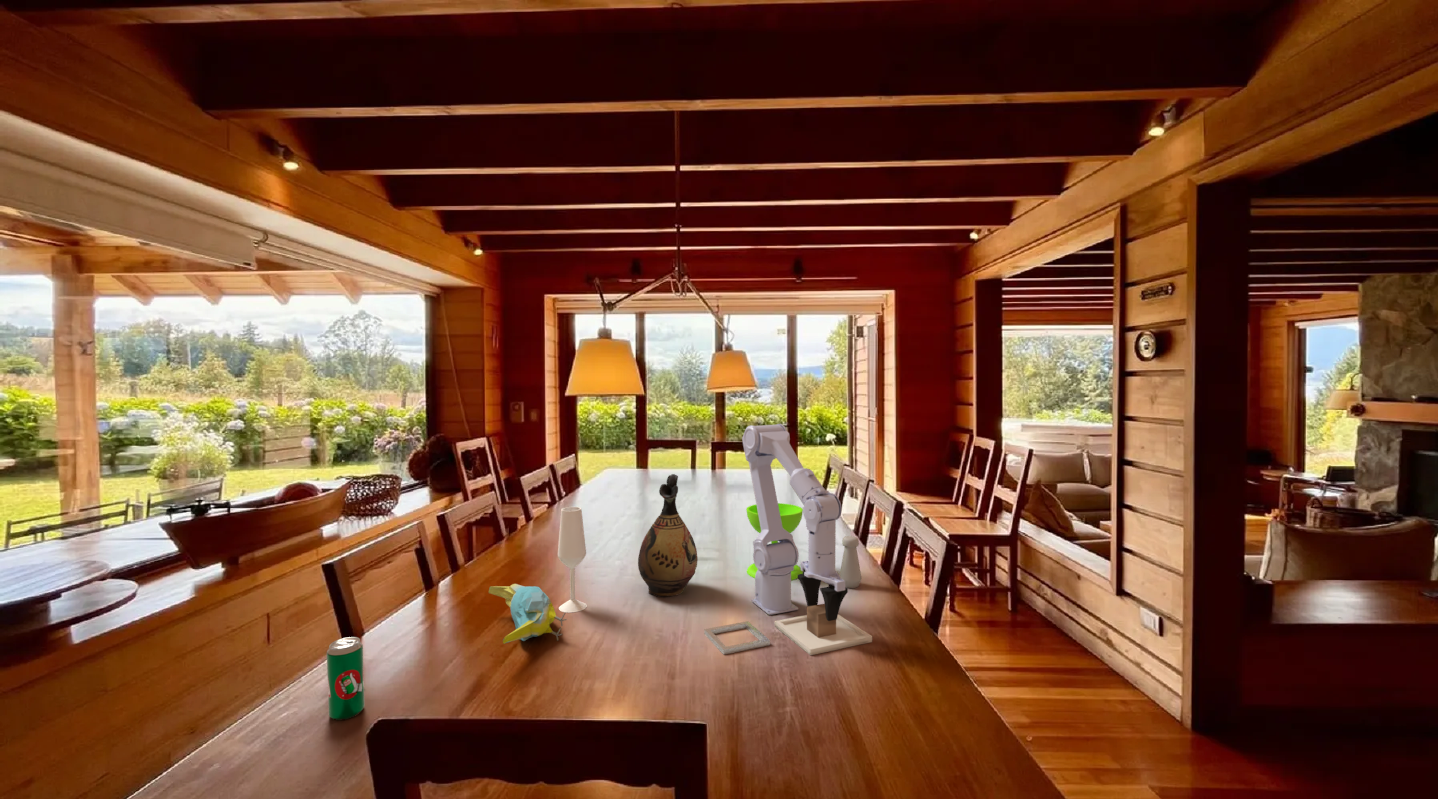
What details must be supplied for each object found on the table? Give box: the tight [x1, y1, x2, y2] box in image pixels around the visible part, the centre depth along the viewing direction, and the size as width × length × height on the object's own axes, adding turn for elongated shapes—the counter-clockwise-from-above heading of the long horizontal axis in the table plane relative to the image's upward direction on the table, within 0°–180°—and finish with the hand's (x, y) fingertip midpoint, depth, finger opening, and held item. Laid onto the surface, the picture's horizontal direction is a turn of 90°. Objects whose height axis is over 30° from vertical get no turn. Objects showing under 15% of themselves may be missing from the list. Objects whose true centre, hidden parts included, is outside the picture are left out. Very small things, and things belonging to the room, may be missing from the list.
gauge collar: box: [703, 620, 771, 655], centre depth 125 cm, size 10×10×1 cm
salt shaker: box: [838, 535, 862, 589], centre depth 157 cm, size 6×6×13 cm
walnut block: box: [806, 603, 836, 638], centre depth 128 cm, size 4×4×5 cm
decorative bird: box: [488, 583, 567, 644], centre depth 128 cm, size 14×30×9 cm, turn 26°
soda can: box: [326, 636, 366, 721], centre depth 98 cm, size 5×5×12 cm
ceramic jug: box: [637, 473, 698, 598], centre depth 155 cm, size 17×15×30 cm
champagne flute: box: [557, 506, 588, 614], centre depth 143 cm, size 7×7×24 cm
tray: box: [774, 614, 873, 656], centre depth 128 cm, size 15×15×1 cm
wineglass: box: [745, 502, 804, 581], centre depth 168 cm, size 16×16×18 cm
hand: (821, 613), depth 128 cm, fingers open, 7 cm apart
